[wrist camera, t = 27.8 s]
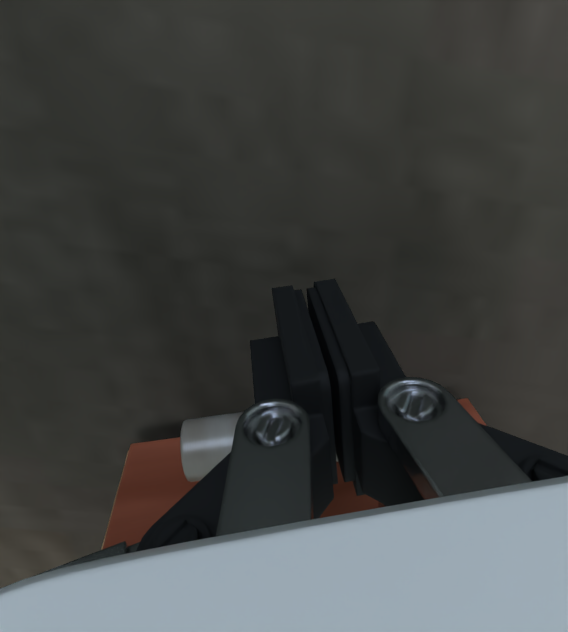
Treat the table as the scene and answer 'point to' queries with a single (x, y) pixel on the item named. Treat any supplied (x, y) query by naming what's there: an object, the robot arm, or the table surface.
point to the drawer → (195, 475)
